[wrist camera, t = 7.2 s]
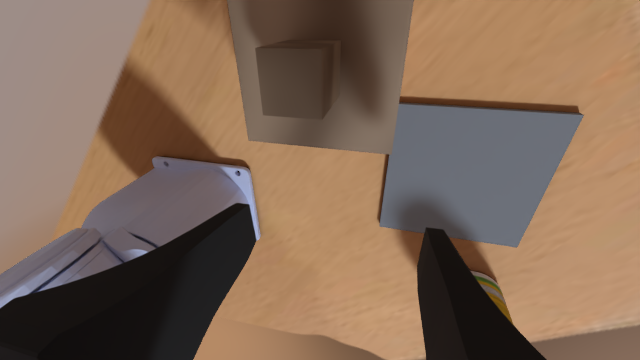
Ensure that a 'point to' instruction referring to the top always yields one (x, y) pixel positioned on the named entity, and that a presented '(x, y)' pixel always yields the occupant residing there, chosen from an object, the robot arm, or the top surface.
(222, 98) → the top surface
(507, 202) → the mat
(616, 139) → the top surface
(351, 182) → the top surface
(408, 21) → the lid
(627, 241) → the top surface
